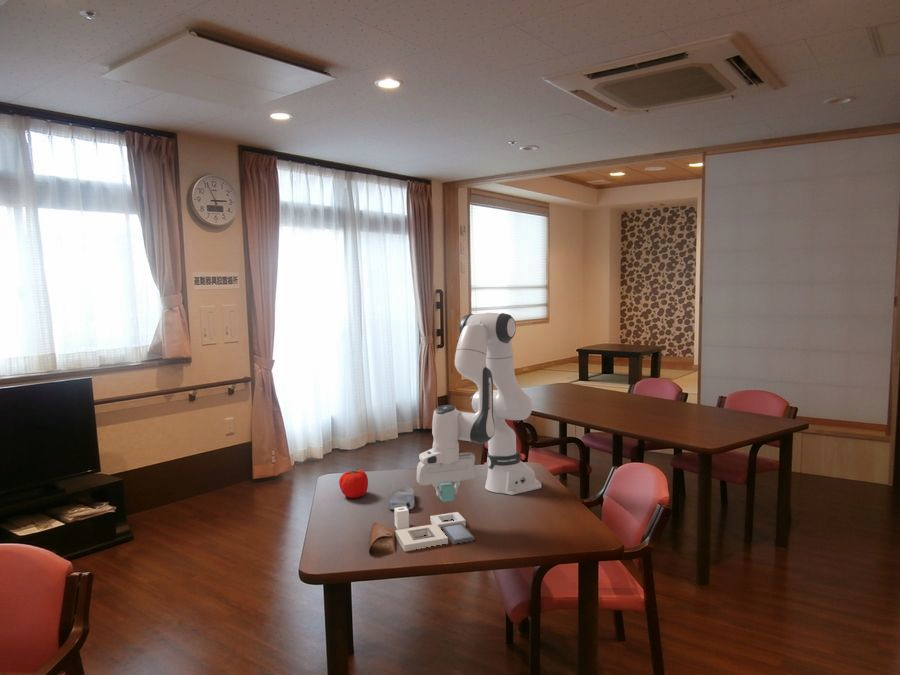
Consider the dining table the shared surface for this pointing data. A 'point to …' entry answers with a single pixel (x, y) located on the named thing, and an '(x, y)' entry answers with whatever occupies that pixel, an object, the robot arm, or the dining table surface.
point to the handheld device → (402, 498)
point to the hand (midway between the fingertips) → (446, 494)
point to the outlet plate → (432, 539)
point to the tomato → (354, 483)
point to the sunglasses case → (381, 540)
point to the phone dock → (453, 527)
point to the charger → (401, 517)
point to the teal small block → (447, 492)
